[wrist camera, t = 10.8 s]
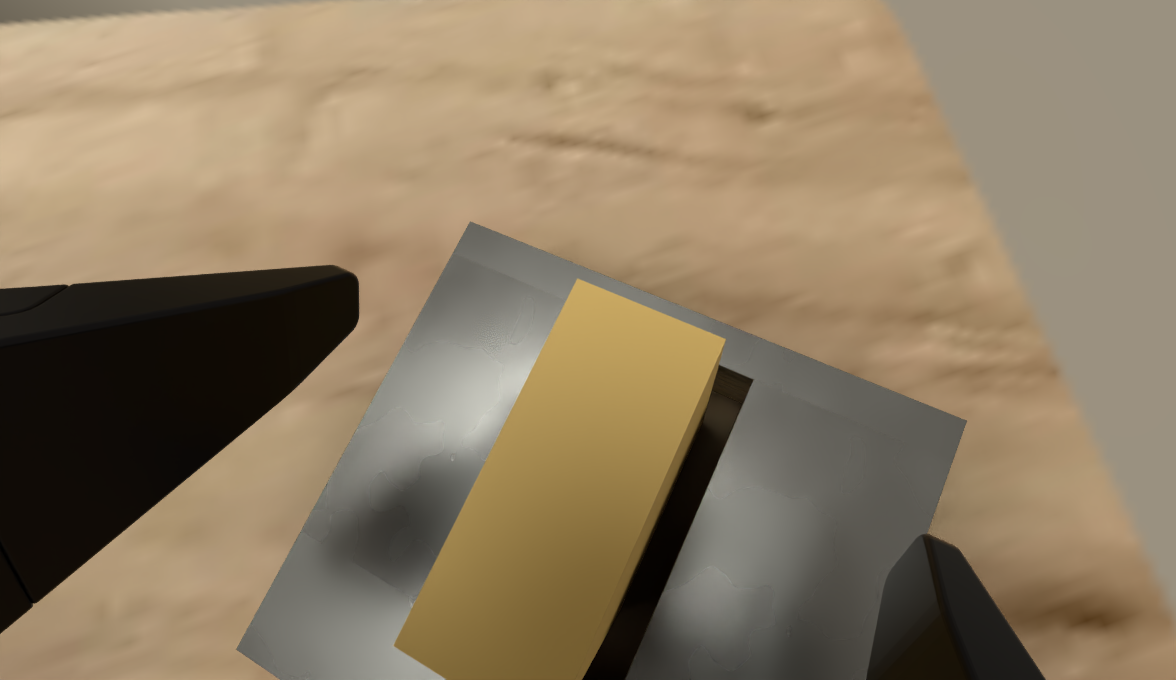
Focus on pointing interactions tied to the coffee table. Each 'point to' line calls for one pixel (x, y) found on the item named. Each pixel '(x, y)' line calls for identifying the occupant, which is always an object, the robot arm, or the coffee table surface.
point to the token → (566, 495)
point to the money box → (715, 537)
